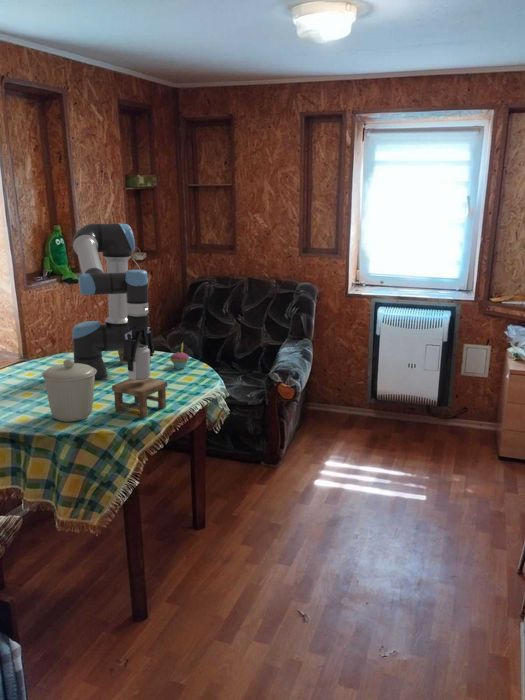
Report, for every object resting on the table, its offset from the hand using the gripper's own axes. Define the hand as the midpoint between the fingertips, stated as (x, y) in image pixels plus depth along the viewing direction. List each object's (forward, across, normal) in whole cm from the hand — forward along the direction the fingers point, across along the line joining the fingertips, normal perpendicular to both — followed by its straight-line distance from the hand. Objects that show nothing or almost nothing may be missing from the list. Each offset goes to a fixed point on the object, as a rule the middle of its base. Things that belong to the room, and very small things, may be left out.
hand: (139, 376), depth 210 cm
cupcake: (+13, +52, +19) cm, 57 cm away
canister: (+13, -18, +16) cm, 27 cm away
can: (+1, 0, 0) cm, 1 cm away
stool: (+13, 0, 0) cm, 13 cm away
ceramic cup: (+13, +48, +45) cm, 67 cm away
